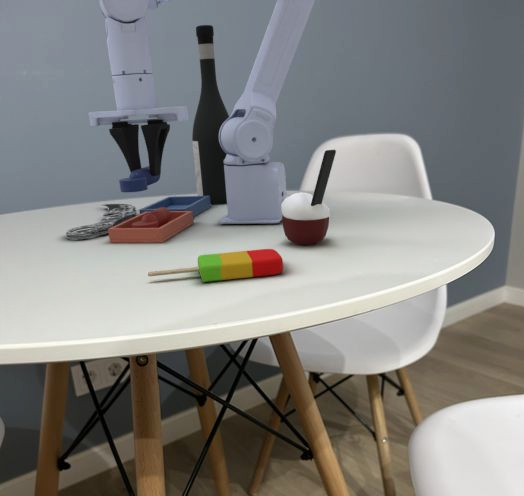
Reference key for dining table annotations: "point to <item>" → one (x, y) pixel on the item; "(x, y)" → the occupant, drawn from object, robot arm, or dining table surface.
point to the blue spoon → (138, 180)
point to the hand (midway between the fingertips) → (146, 175)
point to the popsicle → (233, 265)
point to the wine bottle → (209, 125)
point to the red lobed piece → (154, 219)
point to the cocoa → (308, 209)
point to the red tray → (150, 229)
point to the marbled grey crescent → (104, 222)
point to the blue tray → (181, 204)
